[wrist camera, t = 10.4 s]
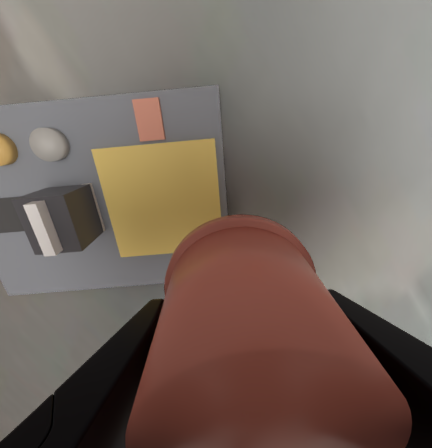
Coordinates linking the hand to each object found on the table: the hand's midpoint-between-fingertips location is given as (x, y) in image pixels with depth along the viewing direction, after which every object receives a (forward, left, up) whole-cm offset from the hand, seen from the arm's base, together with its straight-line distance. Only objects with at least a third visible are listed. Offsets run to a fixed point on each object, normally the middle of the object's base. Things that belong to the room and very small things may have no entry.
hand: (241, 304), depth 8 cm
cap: (0, 0, -1) cm, 1 cm away
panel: (+1, +9, -11) cm, 14 cm away
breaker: (+1, +11, -10) cm, 14 cm away
